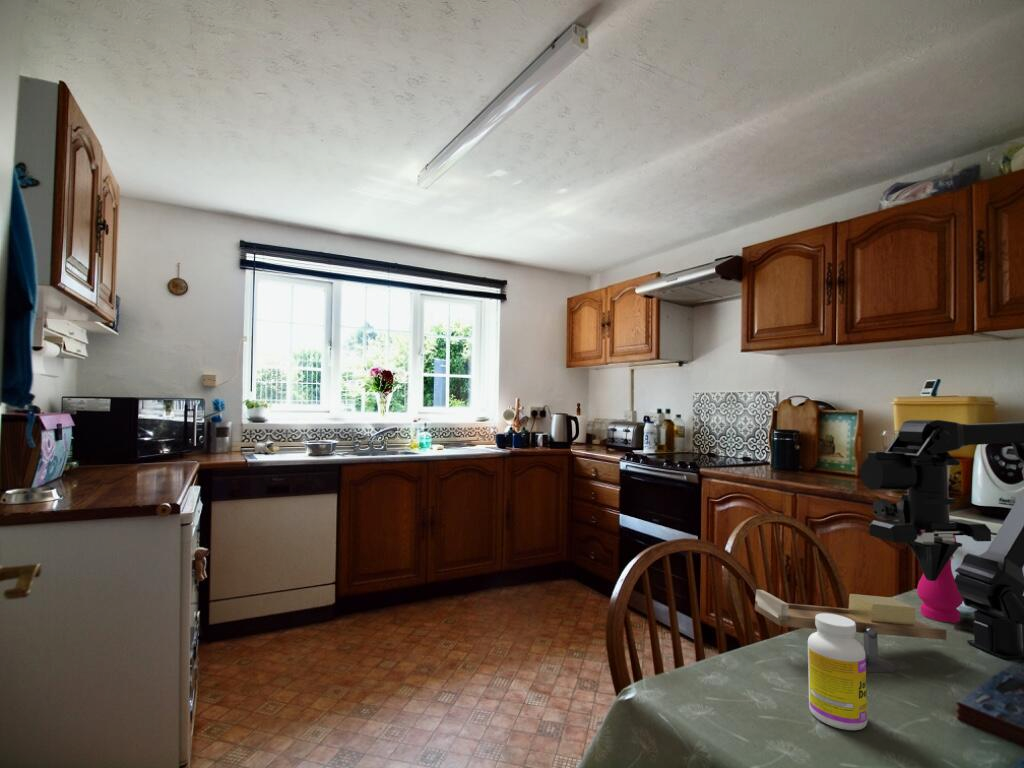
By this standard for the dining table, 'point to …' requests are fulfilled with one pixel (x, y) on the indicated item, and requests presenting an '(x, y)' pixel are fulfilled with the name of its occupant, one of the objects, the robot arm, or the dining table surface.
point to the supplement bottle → (837, 673)
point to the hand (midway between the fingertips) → (930, 580)
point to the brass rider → (881, 610)
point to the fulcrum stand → (874, 653)
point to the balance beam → (806, 614)
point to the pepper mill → (940, 596)
